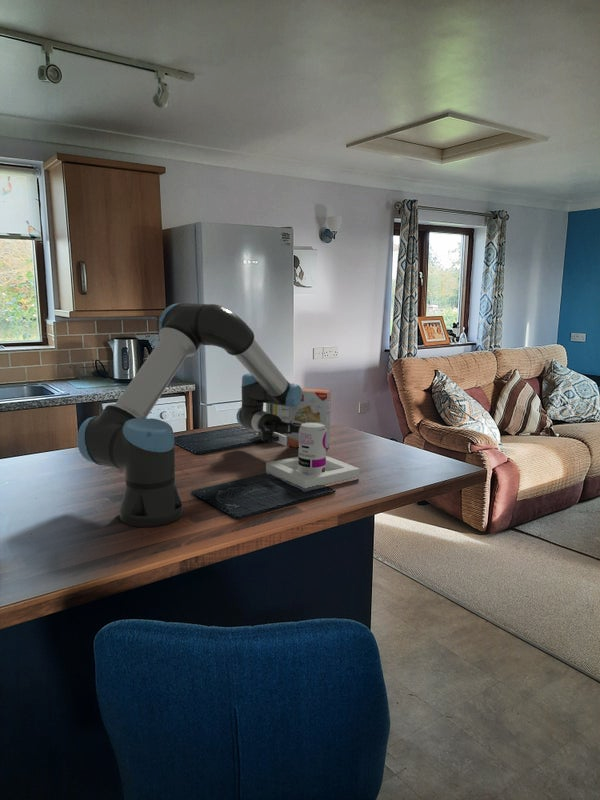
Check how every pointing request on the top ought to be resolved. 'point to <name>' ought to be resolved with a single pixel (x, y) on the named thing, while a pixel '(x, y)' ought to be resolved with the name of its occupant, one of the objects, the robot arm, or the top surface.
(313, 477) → the tray
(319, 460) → the supplement can
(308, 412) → the cracker box
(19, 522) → the top surface
